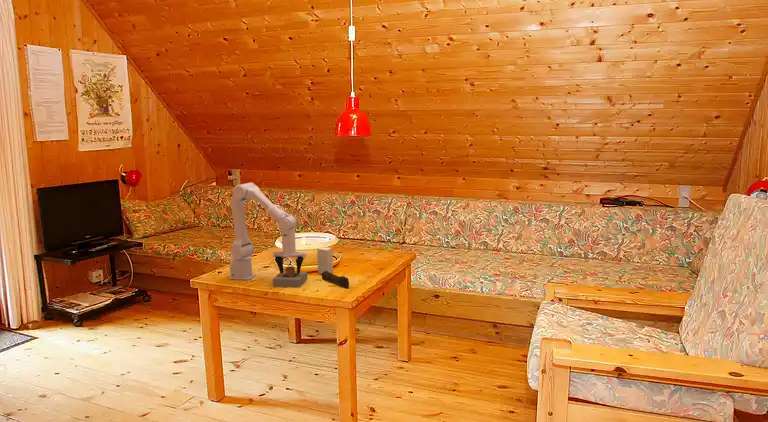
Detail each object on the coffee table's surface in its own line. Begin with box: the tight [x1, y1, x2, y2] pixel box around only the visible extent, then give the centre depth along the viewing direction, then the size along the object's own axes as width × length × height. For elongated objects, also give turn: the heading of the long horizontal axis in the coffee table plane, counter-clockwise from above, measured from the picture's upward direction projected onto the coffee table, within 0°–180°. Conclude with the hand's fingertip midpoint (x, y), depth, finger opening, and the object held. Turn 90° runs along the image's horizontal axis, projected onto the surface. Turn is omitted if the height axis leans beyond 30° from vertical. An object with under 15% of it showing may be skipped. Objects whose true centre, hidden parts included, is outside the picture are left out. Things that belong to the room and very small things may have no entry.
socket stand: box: [272, 270, 308, 288], centre depth 246 cm, size 12×12×4 cm
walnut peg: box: [284, 265, 296, 277], centre depth 246 cm, size 4×4×6 cm
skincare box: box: [316, 246, 334, 274], centre depth 259 cm, size 6×4×12 cm
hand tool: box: [321, 271, 350, 289], centre depth 244 cm, size 19×4×5 cm, turn 36°
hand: (290, 273), depth 246 cm, fingers open, 7 cm apart
